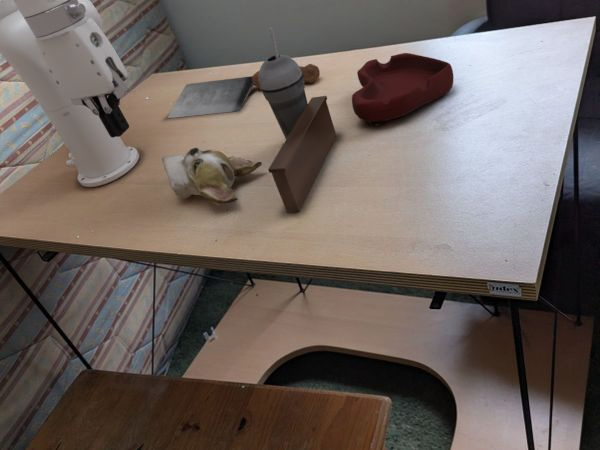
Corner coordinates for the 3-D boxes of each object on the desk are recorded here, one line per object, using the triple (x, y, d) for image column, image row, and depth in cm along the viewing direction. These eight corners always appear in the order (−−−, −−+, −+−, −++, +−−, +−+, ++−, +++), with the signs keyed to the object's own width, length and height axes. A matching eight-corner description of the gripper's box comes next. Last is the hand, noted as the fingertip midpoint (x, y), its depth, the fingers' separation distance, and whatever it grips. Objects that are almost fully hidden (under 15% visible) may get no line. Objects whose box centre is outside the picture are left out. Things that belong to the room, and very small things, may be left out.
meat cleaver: (166, 118, 122) (158, 102, 120) (191, 93, 130) (184, 77, 127) (304, 105, 107) (298, 86, 105) (323, 77, 115) (318, 59, 112)
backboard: (285, 212, 80) (267, 169, 75) (324, 137, 94) (311, 97, 89) (301, 212, 79) (284, 168, 74) (338, 136, 93) (326, 95, 88)
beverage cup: (289, 133, 99) (251, 24, 87) (327, 129, 96) (293, 15, 84) (276, 156, 94) (233, 43, 82) (316, 152, 91) (277, 35, 79)
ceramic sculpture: (175, 130, 92) (253, 129, 86) (193, 173, 97) (268, 174, 91) (139, 168, 85) (222, 170, 79) (162, 212, 90) (240, 216, 84)
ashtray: (457, 116, 86) (453, 87, 83) (355, 134, 91) (348, 107, 88) (453, 67, 100) (449, 41, 97) (364, 86, 105) (358, 61, 102)
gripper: (112, -2, 77) (169, 115, 87) (37, 19, 83) (99, 125, 94) (80, 19, 72) (145, 140, 82) (2, 40, 78) (72, 150, 89)
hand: (120, 132), depth 88 cm, fingers closed
